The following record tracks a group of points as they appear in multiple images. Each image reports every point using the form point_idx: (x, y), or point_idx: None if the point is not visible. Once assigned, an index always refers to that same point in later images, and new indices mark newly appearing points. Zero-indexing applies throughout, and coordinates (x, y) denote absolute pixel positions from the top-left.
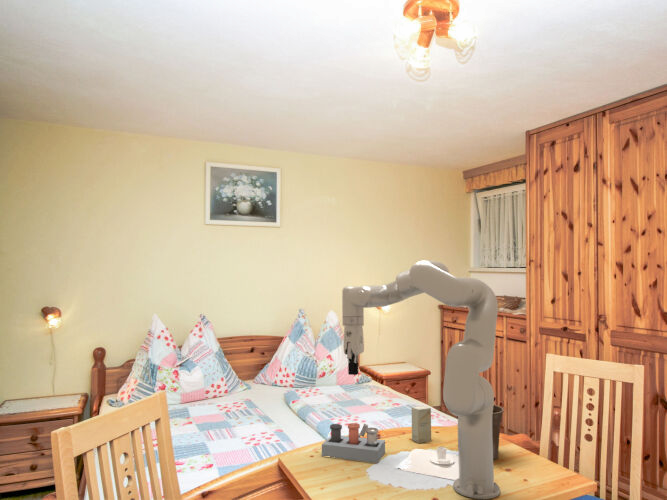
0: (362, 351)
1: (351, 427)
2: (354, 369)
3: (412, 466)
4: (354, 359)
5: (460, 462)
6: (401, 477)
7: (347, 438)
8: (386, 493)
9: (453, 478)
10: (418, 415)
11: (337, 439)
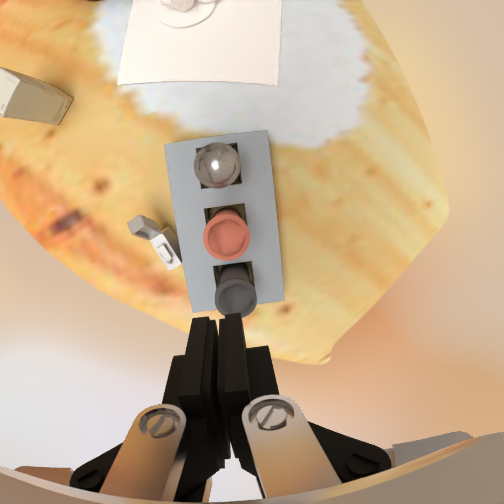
0: (36, 499)
1: (249, 236)
2: (264, 359)
3: (246, 50)
4: (317, 445)
5: None
6: (321, 61)
7: (202, 258)
8: (403, 80)
9: None
10: (31, 84)
11: (246, 274)
